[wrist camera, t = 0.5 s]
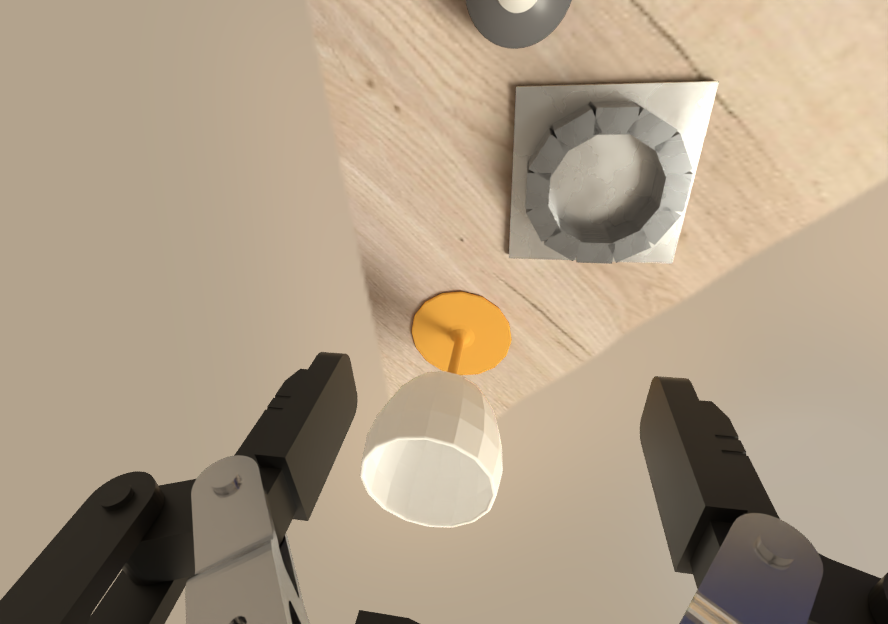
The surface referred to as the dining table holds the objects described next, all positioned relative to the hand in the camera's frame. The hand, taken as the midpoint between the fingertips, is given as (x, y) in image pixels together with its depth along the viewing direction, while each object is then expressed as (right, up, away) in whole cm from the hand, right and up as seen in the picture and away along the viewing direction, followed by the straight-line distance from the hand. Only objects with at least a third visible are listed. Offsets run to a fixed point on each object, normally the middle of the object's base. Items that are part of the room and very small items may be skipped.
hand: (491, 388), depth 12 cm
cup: (0, 0, +28) cm, 28 cm away
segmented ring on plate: (+10, +11, +19) cm, 24 cm away
